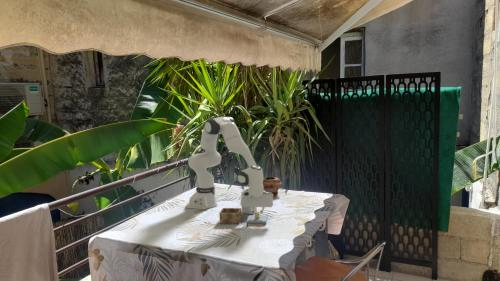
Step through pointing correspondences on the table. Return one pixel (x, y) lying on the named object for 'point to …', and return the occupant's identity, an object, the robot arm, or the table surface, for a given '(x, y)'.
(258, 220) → the lid
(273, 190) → the decorative planter
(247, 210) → the supplement box
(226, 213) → the walnut box
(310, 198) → the table surface
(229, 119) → the robot arm
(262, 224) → the coaster
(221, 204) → the table surface
